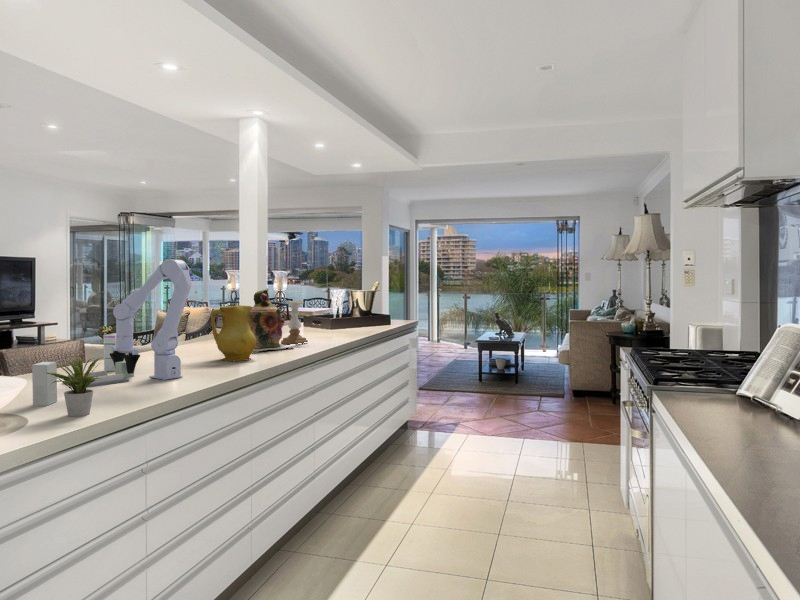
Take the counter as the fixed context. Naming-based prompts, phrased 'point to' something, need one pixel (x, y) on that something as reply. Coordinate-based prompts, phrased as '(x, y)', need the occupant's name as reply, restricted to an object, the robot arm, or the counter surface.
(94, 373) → the rail board
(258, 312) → the cookie jar
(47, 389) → the skincare box
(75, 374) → the house plant
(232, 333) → the pitcher
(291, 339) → the candle holder
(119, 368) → the block
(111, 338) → the syrup box
